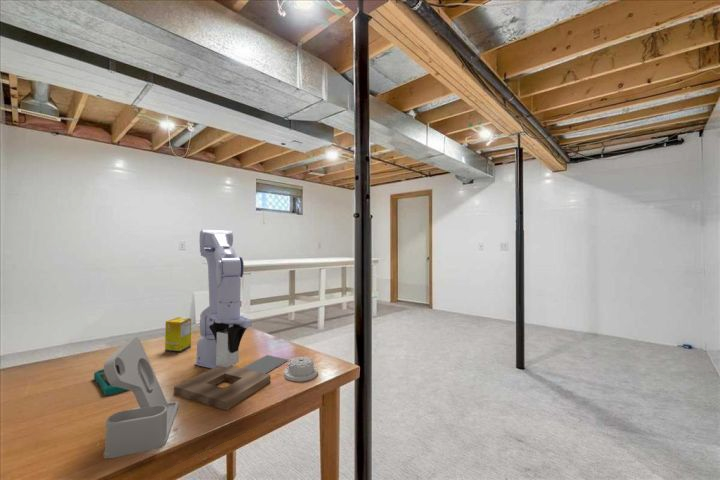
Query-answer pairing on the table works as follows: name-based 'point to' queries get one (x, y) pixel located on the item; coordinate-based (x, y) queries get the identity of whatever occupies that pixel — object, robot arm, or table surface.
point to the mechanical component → (300, 369)
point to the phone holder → (154, 414)
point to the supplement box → (178, 335)
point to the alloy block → (225, 350)
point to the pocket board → (219, 397)
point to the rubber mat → (265, 364)
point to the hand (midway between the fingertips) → (227, 350)
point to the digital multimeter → (106, 384)
